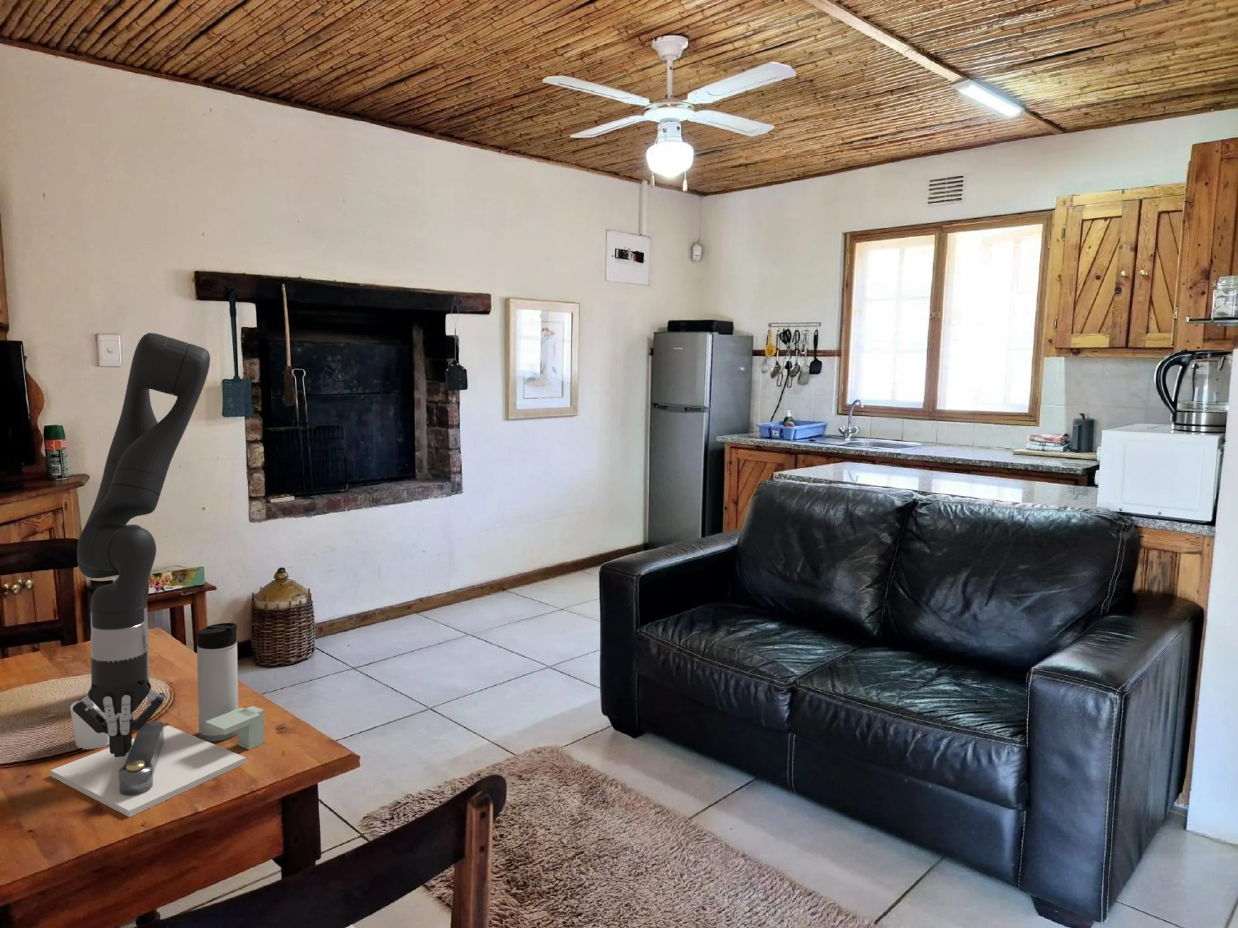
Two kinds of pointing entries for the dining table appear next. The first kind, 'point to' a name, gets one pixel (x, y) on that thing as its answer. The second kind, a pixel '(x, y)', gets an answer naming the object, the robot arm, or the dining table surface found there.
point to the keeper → (241, 725)
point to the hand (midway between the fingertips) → (121, 754)
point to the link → (142, 760)
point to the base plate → (174, 773)
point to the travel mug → (216, 676)
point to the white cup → (88, 732)
